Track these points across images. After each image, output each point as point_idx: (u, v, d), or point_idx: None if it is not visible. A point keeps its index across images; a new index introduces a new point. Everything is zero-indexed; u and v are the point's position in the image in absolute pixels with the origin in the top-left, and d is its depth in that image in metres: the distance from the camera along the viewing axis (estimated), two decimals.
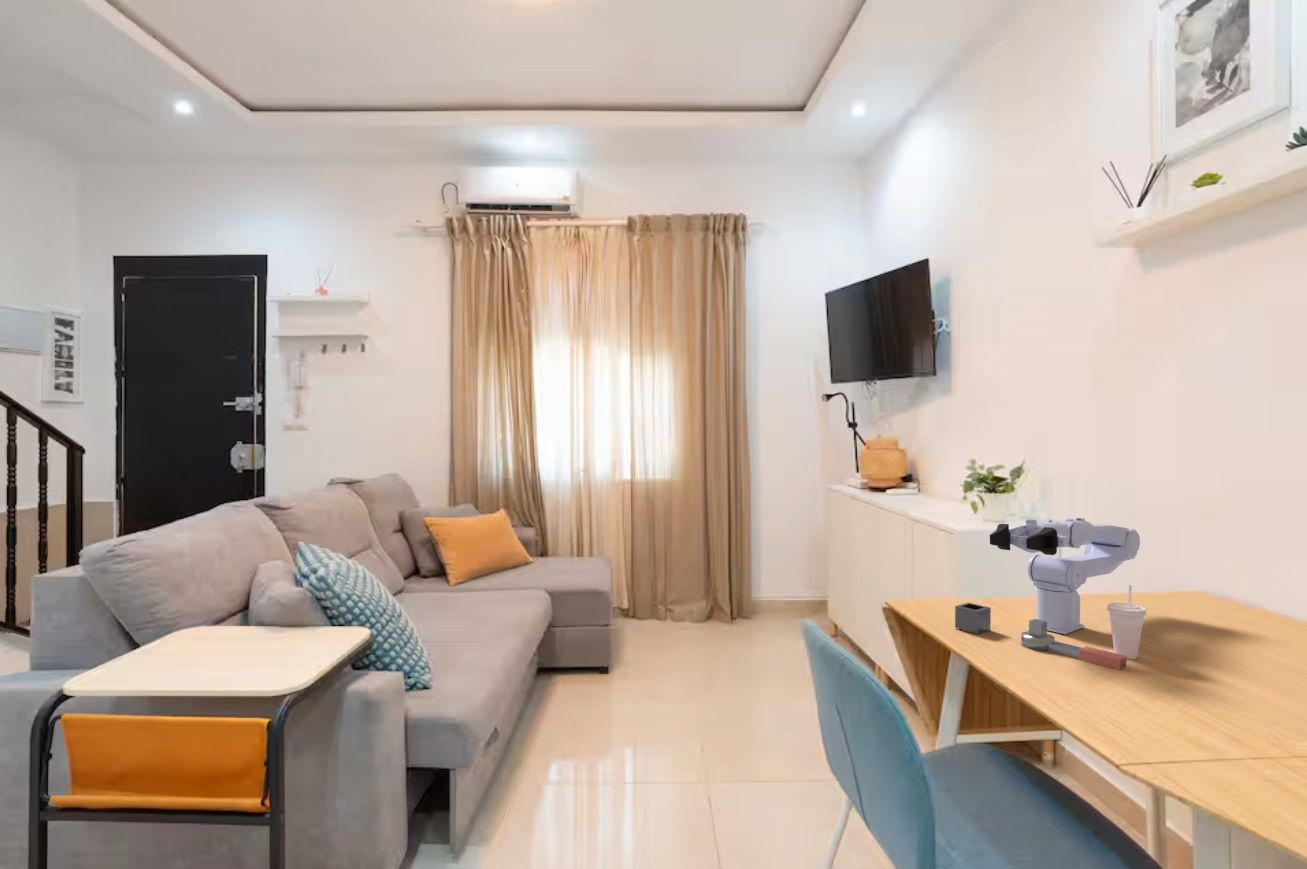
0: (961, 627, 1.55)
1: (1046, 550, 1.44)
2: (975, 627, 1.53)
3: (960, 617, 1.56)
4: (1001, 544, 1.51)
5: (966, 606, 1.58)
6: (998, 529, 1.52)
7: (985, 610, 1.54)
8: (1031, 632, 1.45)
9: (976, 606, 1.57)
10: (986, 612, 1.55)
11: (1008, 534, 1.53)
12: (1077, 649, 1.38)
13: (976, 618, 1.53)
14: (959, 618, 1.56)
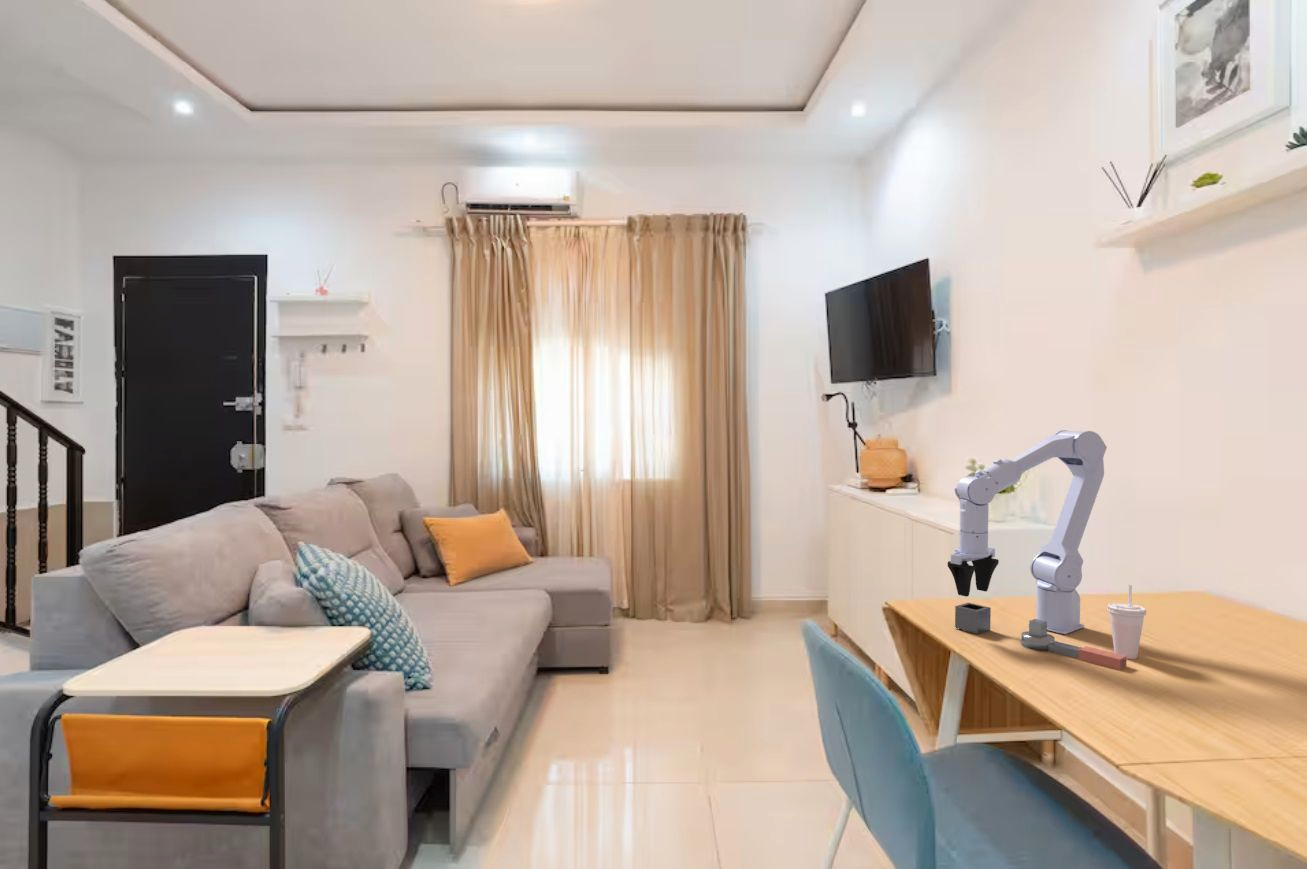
0: (961, 627, 1.55)
1: (967, 577, 1.51)
2: (975, 627, 1.53)
3: (960, 617, 1.56)
4: (987, 575, 1.57)
5: (966, 606, 1.58)
6: None
7: (985, 610, 1.54)
8: (1031, 632, 1.45)
9: (976, 606, 1.57)
10: (986, 612, 1.55)
11: (979, 561, 1.58)
12: (1077, 649, 1.38)
13: (976, 618, 1.53)
14: (959, 618, 1.56)
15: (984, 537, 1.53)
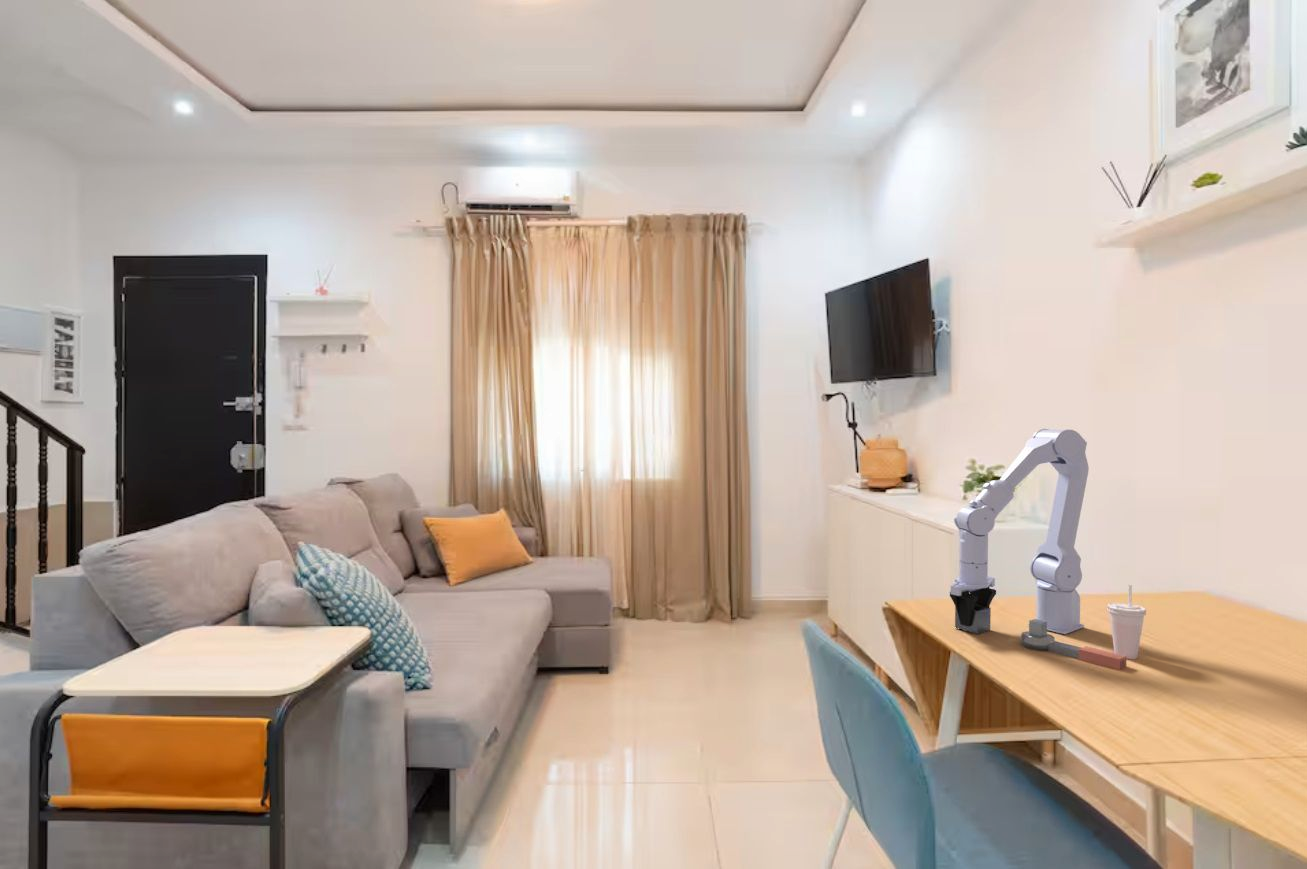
0: (961, 627, 1.55)
1: (969, 607, 1.52)
2: (975, 627, 1.53)
3: None
4: None
5: None
6: None
7: (985, 610, 1.54)
8: (1031, 632, 1.45)
9: (976, 606, 1.57)
10: (986, 612, 1.55)
11: (977, 591, 1.58)
12: (1077, 649, 1.38)
13: (976, 618, 1.53)
14: None
15: (984, 568, 1.53)
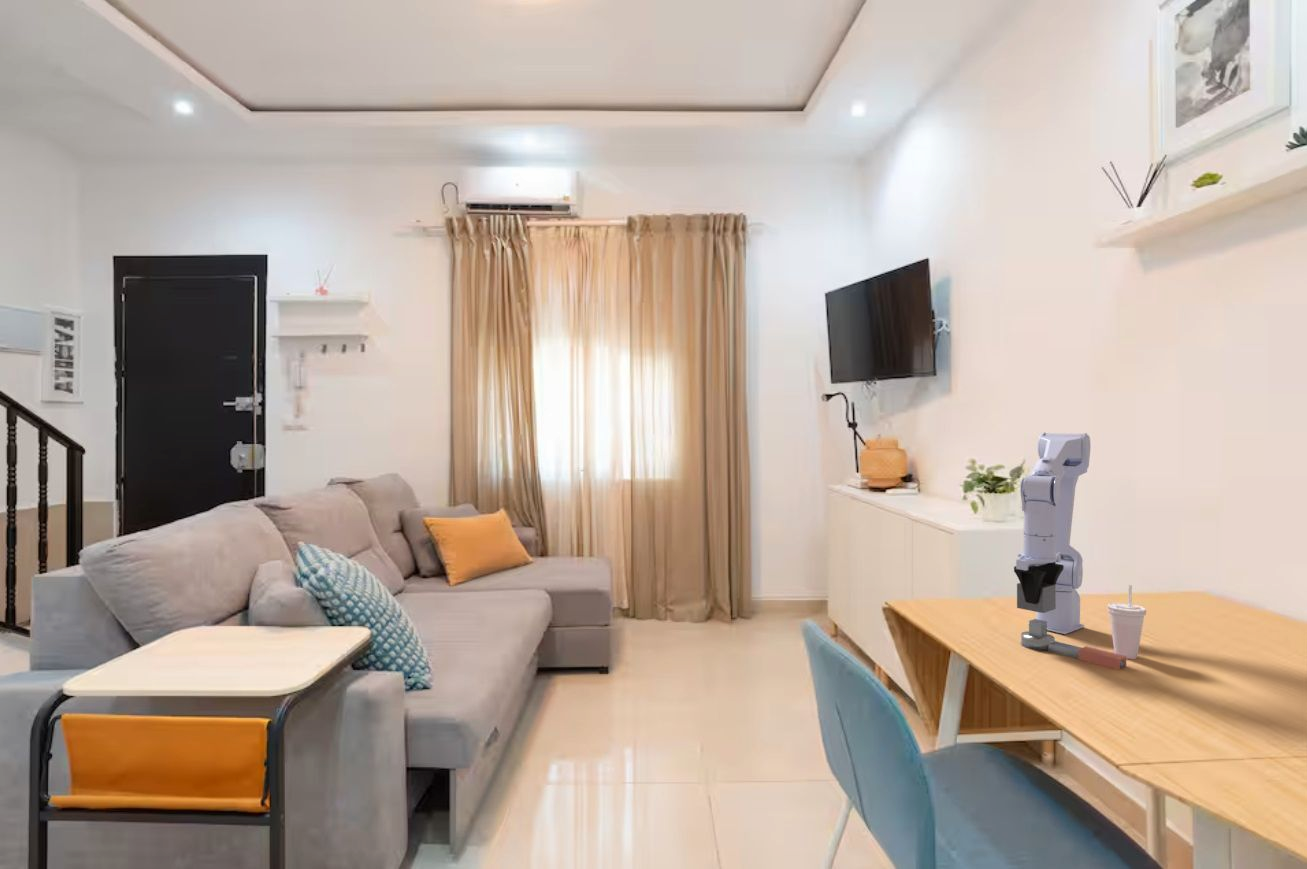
0: (1024, 606, 1.44)
1: (1036, 583, 1.41)
2: (1040, 605, 1.42)
3: (1023, 595, 1.45)
4: (1051, 582, 1.45)
5: None
6: None
7: (1050, 587, 1.43)
8: (1031, 632, 1.45)
9: None
10: (1051, 589, 1.43)
11: (1042, 567, 1.47)
12: (1077, 649, 1.38)
13: (1041, 595, 1.42)
14: (1021, 596, 1.45)
15: (1052, 541, 1.42)
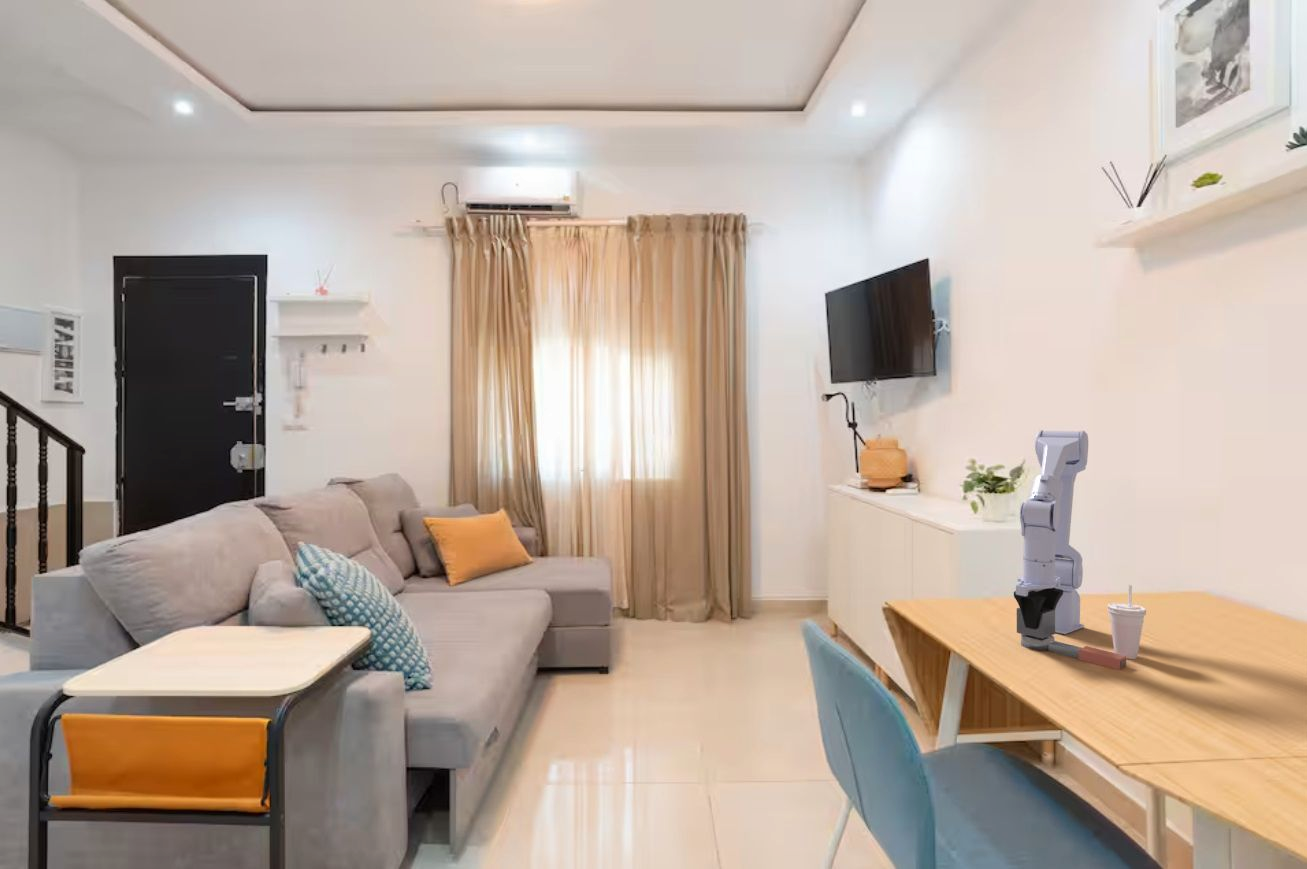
0: (1024, 631, 1.44)
1: (1036, 608, 1.41)
2: (1040, 631, 1.42)
3: (1022, 620, 1.45)
4: (1051, 607, 1.45)
5: None
6: None
7: (1050, 612, 1.43)
8: None
9: None
10: (1051, 614, 1.44)
11: (1042, 591, 1.47)
12: (1077, 649, 1.38)
13: (1041, 621, 1.42)
14: (1021, 621, 1.45)
15: (1051, 566, 1.42)
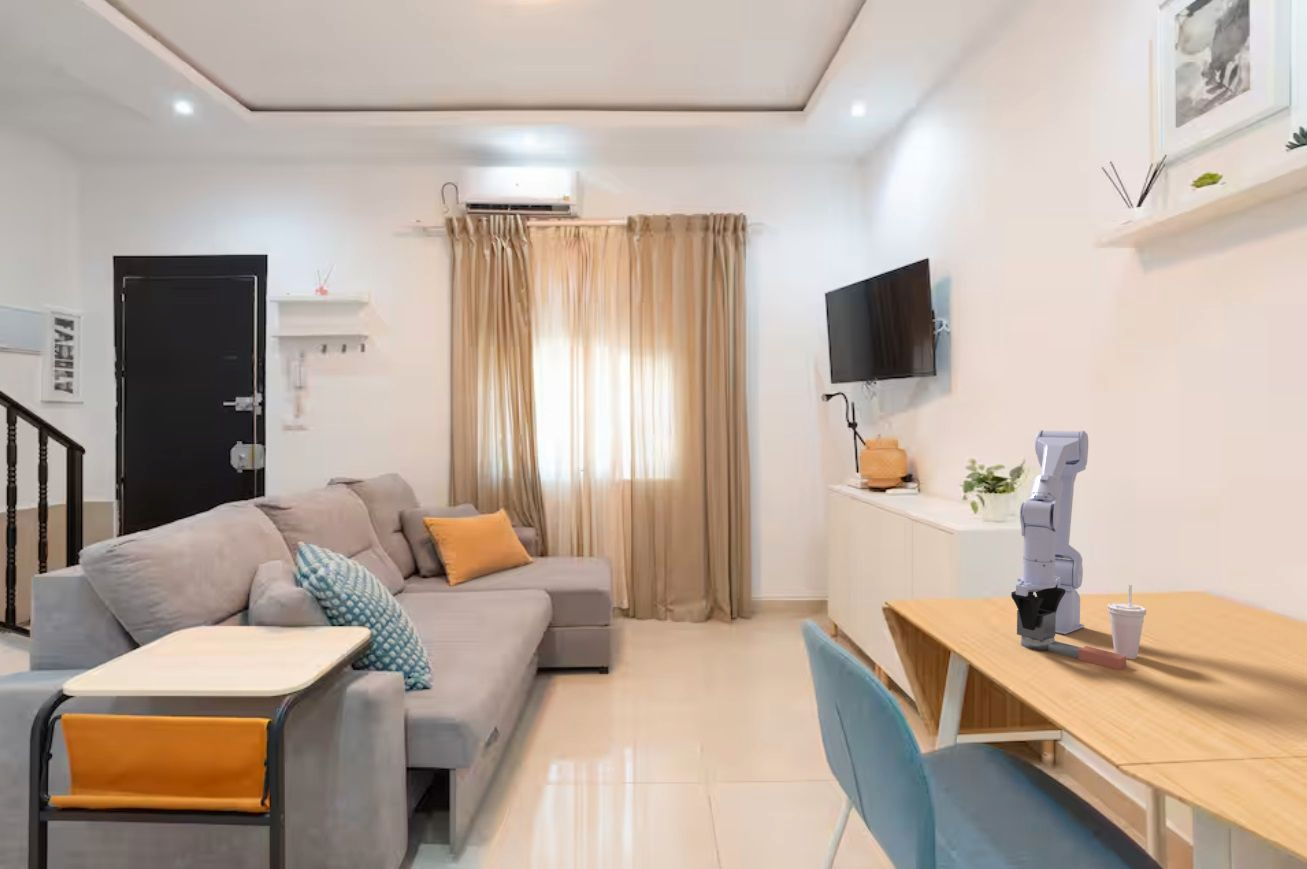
0: (1024, 633, 1.44)
1: (1034, 609, 1.40)
2: (1040, 633, 1.42)
3: None
4: (1053, 606, 1.46)
5: None
6: None
7: (1050, 615, 1.43)
8: None
9: (1039, 610, 1.46)
10: (1051, 617, 1.43)
11: (1044, 591, 1.47)
12: (1077, 649, 1.38)
13: (1041, 623, 1.42)
14: None
15: (1051, 566, 1.42)
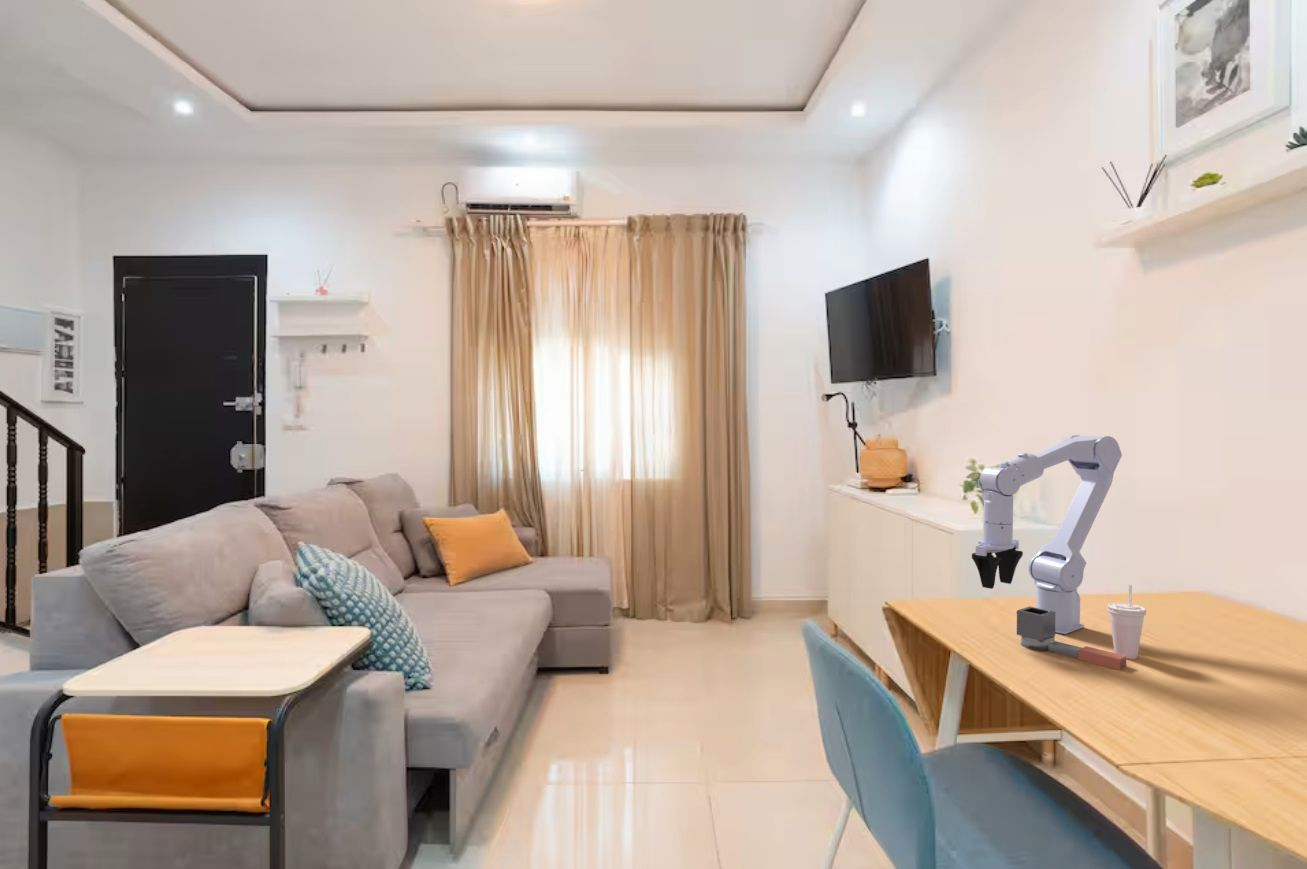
0: (1024, 633, 1.44)
1: (992, 568, 1.49)
2: (1040, 633, 1.42)
3: (1022, 622, 1.45)
4: (1011, 567, 1.54)
5: (1028, 610, 1.47)
6: None
7: (1050, 615, 1.43)
8: None
9: (1039, 610, 1.46)
10: (1051, 617, 1.43)
11: (1003, 553, 1.56)
12: (1077, 649, 1.38)
13: (1041, 623, 1.42)
14: (1021, 623, 1.45)
15: (1009, 528, 1.51)
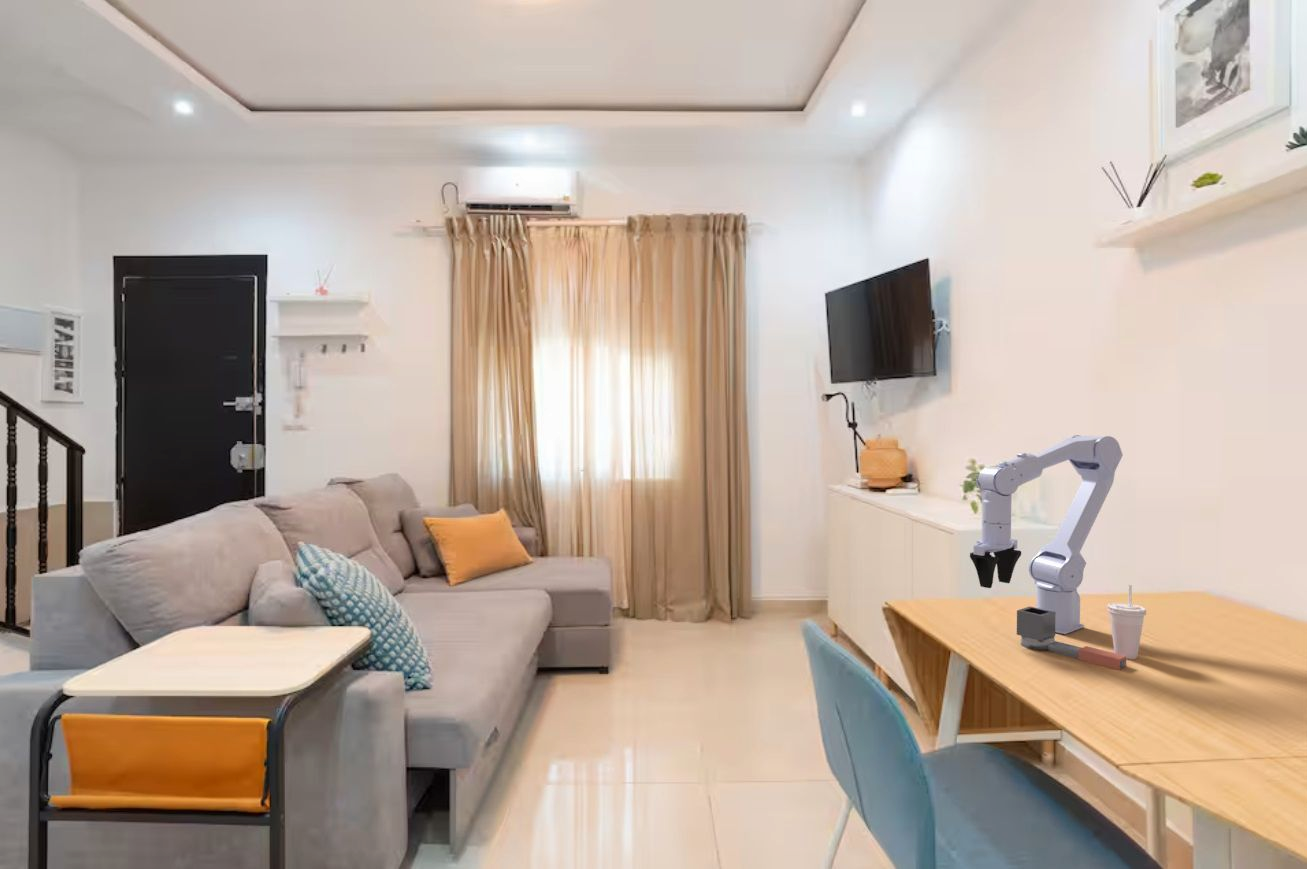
0: (1024, 633, 1.44)
1: (990, 568, 1.49)
2: (1040, 633, 1.42)
3: (1022, 622, 1.45)
4: (1010, 567, 1.55)
5: (1028, 610, 1.47)
6: None
7: (1050, 615, 1.43)
8: None
9: (1039, 610, 1.46)
10: (1051, 617, 1.43)
11: (1001, 552, 1.56)
12: (1077, 649, 1.38)
13: (1041, 623, 1.42)
14: (1021, 623, 1.45)
15: (1007, 528, 1.51)
